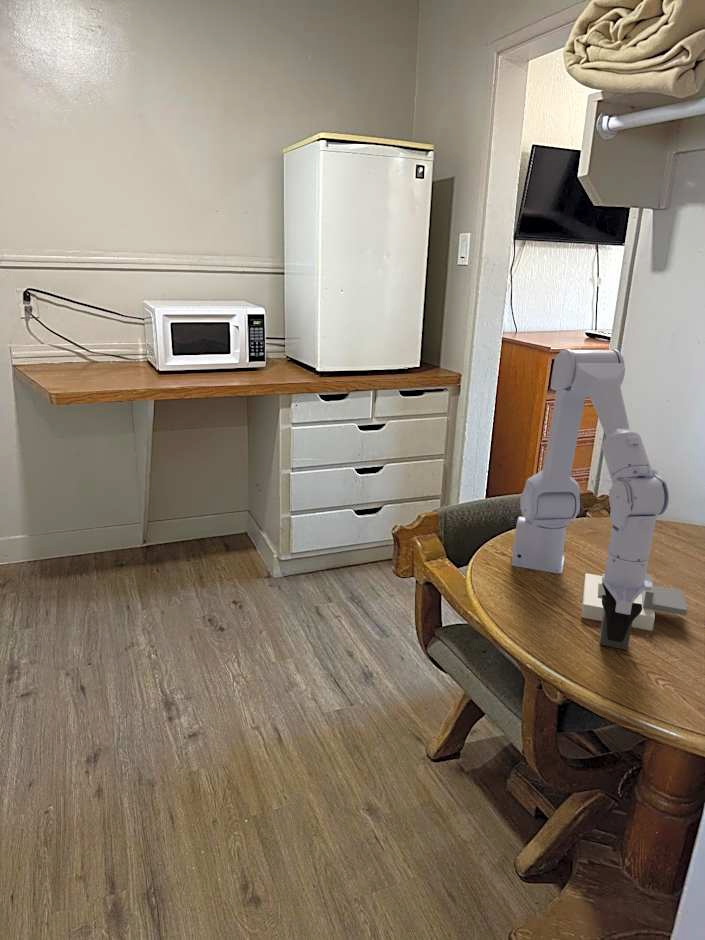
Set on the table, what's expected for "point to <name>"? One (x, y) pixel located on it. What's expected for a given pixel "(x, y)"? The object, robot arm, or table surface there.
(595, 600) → the socket plate
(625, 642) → the plug
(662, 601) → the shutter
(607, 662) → the table surface
